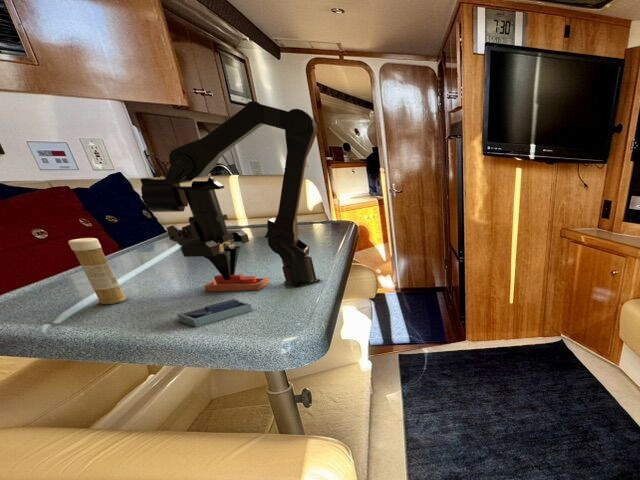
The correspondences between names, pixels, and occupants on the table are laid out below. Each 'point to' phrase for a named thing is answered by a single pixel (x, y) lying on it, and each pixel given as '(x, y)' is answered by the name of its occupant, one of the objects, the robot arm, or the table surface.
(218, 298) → the table surface
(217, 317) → the grey tray
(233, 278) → the brick-red spoon
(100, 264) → the sprinkles bottle
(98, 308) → the table surface
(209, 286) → the terracotta tray
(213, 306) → the navy spoon
